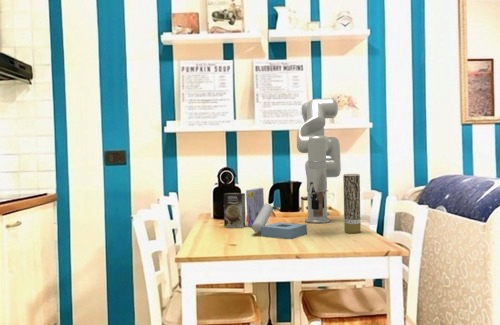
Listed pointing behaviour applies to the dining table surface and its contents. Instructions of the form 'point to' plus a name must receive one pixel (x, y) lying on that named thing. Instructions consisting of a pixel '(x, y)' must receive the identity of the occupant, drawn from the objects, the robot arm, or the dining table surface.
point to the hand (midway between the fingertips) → (317, 208)
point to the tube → (262, 217)
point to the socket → (284, 230)
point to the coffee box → (234, 210)
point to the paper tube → (351, 203)
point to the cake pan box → (254, 204)
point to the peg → (319, 212)
